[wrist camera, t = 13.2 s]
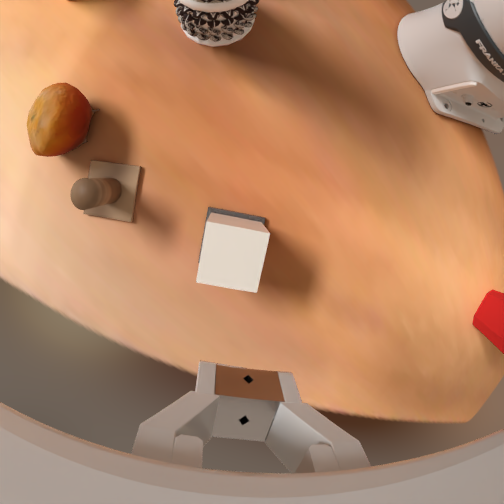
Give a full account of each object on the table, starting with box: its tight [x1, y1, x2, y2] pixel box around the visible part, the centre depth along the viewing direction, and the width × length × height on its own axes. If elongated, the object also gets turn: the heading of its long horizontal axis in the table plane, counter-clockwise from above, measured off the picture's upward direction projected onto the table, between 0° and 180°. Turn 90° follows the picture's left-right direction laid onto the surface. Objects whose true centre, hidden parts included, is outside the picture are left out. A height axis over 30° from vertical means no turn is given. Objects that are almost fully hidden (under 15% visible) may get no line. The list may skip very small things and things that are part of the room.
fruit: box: [27, 83, 99, 157], centre depth 25 cm, size 8×8×8 cm
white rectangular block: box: [196, 212, 270, 293], centre depth 28 cm, size 5×5×7 cm
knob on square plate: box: [71, 160, 141, 222], centre depth 26 cm, size 6×6×7 cm
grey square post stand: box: [199, 207, 265, 262], centre depth 29 cm, size 6×6×7 cm
